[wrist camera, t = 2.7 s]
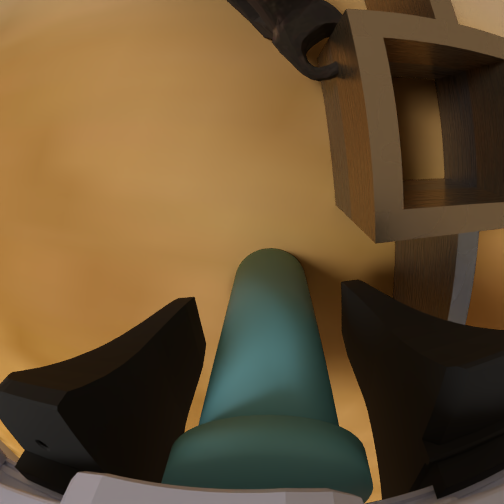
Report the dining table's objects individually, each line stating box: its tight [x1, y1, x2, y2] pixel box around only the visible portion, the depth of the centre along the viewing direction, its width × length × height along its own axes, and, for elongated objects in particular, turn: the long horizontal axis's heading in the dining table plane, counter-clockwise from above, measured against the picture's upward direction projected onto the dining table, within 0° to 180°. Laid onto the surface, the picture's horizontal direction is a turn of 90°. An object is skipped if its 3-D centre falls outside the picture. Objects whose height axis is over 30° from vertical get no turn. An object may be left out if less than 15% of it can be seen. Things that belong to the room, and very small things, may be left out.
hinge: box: [317, 0, 504, 325], centre depth 8 cm, size 18×6×5 cm, turn 8°
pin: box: [161, 248, 373, 503], centre depth 9 cm, size 4×4×10 cm
